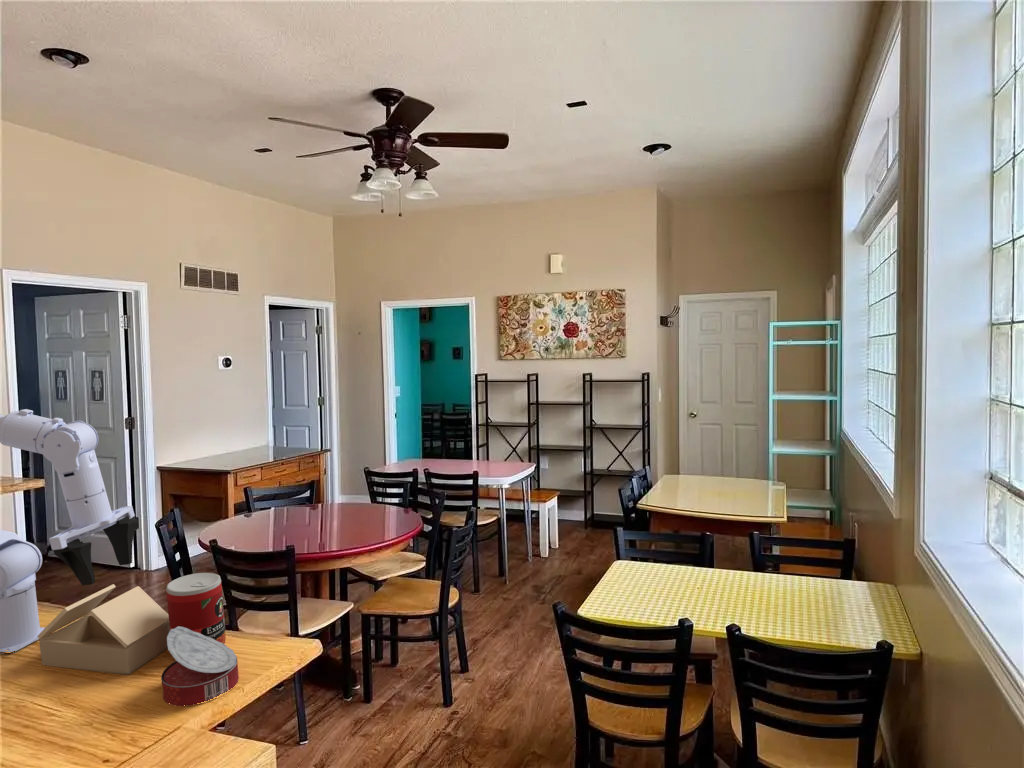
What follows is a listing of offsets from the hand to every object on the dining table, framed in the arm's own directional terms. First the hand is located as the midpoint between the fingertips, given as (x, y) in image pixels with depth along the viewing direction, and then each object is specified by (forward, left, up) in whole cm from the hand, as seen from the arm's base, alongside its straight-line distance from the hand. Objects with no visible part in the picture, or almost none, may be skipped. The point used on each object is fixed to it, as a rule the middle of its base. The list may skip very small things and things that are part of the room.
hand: (107, 573), depth 110 cm
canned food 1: (+18, -1, -11) cm, 21 cm away
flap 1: (0, -6, -4) cm, 7 cm away
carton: (+5, -6, -11) cm, 13 cm away
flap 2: (+10, -6, -4) cm, 12 cm away
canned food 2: (+26, -11, -11) cm, 30 cm away
